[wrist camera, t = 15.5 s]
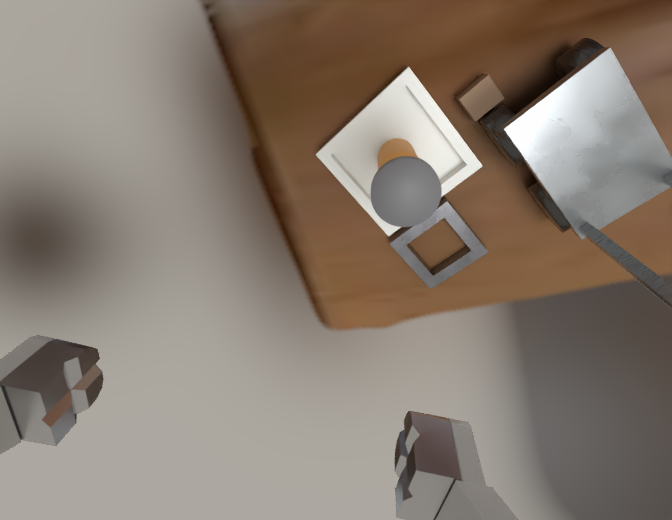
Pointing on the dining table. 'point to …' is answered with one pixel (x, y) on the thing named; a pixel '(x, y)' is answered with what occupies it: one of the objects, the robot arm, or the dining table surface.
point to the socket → (451, 264)
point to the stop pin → (404, 185)
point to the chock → (479, 97)
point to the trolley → (588, 151)
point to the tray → (397, 122)
